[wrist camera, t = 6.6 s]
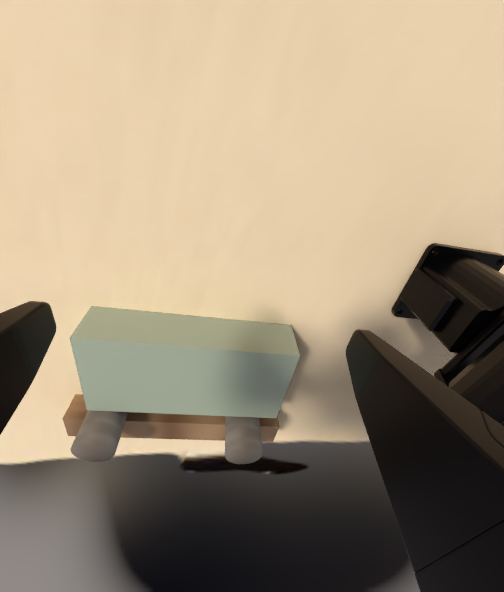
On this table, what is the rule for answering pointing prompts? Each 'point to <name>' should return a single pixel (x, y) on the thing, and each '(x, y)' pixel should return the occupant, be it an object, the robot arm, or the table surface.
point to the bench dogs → (164, 431)
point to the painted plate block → (182, 363)
